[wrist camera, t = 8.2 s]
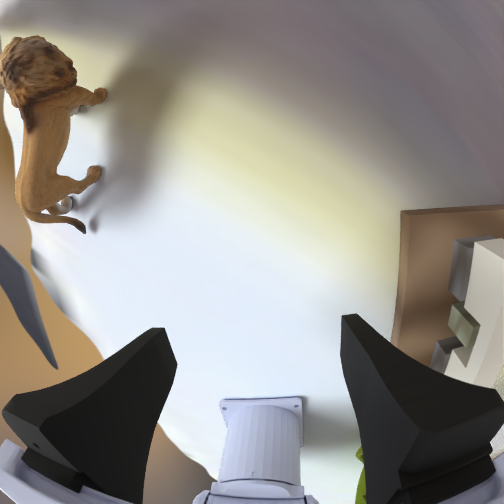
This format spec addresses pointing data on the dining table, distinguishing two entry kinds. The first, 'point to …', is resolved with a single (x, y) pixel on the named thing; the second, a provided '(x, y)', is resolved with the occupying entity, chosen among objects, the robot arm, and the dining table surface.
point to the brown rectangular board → (439, 280)
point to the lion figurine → (45, 125)
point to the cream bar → (483, 318)
